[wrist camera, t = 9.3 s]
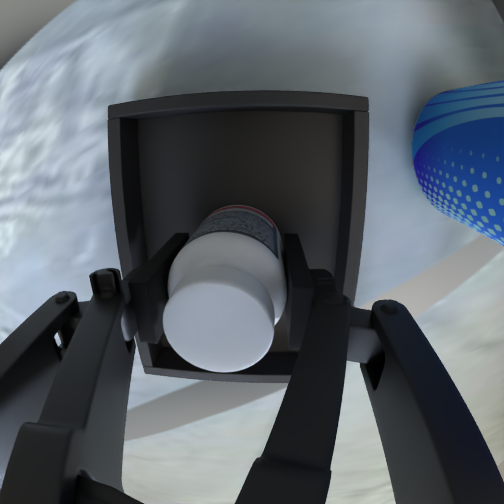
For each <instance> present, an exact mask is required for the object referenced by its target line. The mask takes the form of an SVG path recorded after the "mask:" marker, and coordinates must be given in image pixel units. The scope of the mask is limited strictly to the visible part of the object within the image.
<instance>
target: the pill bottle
mask: <svg viewBox="0 0 504 504" xmlns="http://www.w3.org/2000/svg"><path fill="white" fill-rule="evenodd" d="M167 290H168V296H169V300H168V302H167V304H166V306H165V309H164V313H163V328H164V332H165V335H166V337H167V340H168V342H169V343H170V344H171V346H172V347H173V349H174V350H175V351H176V352H177V353H178V354H179V355H180V356H181V357H182V358H183V359H185V360H186V361H188V362H190V363H191V364H193V365H195V366H197V367H200V368H202V369H206V370H209V371H214V372H233V371H239V370H242V369H245V368H248V367H250V366H252V365H254V364H255V363H257V362H258V361H259V360H260V359H262V358H263V357H264V355H265V354H266V353H267V351H268V350H269V348H270V346H271V344H272V341H273V337H274V325H275V324H276V323H277V322H278V320H279V319H280V317H281V315H282V314H283V311H284V309H285V306H286V302H287V280H286V275H285V268H284V257H283V247H282V240H281V236H280V233H279V231H278V229H277V227H276V225H275V224H274V222H273V221H272V220H271V219H270V218H269V217H268V216H267V215H266V214H264V213H263V212H261V211H260V210H258V209H256V208H253V207H250V206H245V205H230V206H225V207H222V208H220V209H218V210H216V211H214V212H213V213H211V214H210V215H209V216H208V217H207V218H206V219H205V220H204V221H203V222H202V223H201V225H200V226H199V227H198V228H197V230H196V231H195V232H194V233H193V235H192V236H191V237H190V239H189V240H188V241H187V243H186V244H185V245H184V246H183V248H182V249H181V250H180V252H179V253H178V255H177V256H176V258H175V259H174V261H173V263H172V265H171V268H170V271H169V275H168V282H167Z"/></svg>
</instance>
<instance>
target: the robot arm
mask: <svg viewBox="0 0 504 504" xmlns="http://www.w3.org/2000/svg"><path fill="white" fill-rule="evenodd" d="M188 240H189V233H175V234H174V235H173V236H172V237H171V238H170V239H169V240H168V241H167V242H166V243H165V244H164V245H163V246H162V247H161V248H160V249H159V250H158V251H157V252H156V254H155V255H154V256H153V257H152V258H151V259H150V260H149V261H148V262H147V263H146V264H145V265H144V266H143V267H137V268H135V269H133V270H131V271H130V272H129V273H128V274H127V275H126V276H125V277H124V278H123V280H121V274H120V271H119V270H118V269H115V268H105V269H100V270H97V271H95V272H93V273H91V274H90V275H89V277H90V282H91V287H92V291H93V296H92V298H91V300H90V301H84V302H78V300H77V296H76V294H75V293H74V292H70V291H67V292H66V291H62V292H59V293H58V294H55V295H54V296H52V297H51V298H49V299H48V300H47V301H46V302H45V303H44V304H43V305H42V306H40V307H39V308H38V309H37V310H36V311H35V312H34V313H33V314H32V315H31V316H29V317H28V318H27V319H26V320H25V321H24V322H23V323H22V324H21V325H20V326H19V327H18V328H17V329H16V330H15V331H14V332H12V333H11V334H10V335H9V336H8V337H7V338H6V339H5V340H4V341H3V342H2V343H1V344H0V504H144V503H142V502H140V501H138V500H136V499H134V498H132V497H130V496H128V495H126V494H125V493H124V490H123V487H122V479H121V477H122V459H123V445H124V433H125V422H126V413H127V404H128V396H129V388H130V381H131V374H132V367H133V361H134V354H135V348H136V345H135V340H134V336H135V334H136V332H137V331H138V334H139V338H140V342H145V343H154V344H157V343H158V341H159V339H160V337H161V335H162V333H163V331H164V328H163V313H164V309H165V306H166V304H167V302H168V300H169V296H168V290H167V282H168V275H169V271H170V268H171V265H172V263H173V261H174V259H175V258H176V256H177V255H178V253H179V252H180V250H181V249H182V248H183V246H184V245H185V244H186V243H187V241H188ZM283 257H284V268H285V275H286V280H287V302H286V306H285V312H286V323H287V336H288V348H289V350H300V351H299V354H298V357H297V360H296V363H295V366H294V369H293V372H292V375H291V378H290V381H289V384H288V387H287V389H286V392H285V395H284V398H283V401H282V404H281V406H280V409H279V412H278V415H277V417H276V420H275V423H274V425H273V428H272V431H271V433H270V436H269V438H268V441H267V443H266V446H265V449H264V451H263V453H262V455H261V457H259V458H256V460H255V461H254V463H253V465H252V467H251V469H250V471H249V473H248V476H247V478H246V480H245V482H244V485H243V487H242V489H241V491H240V493H239V496H238V498H237V500H236V502H235V504H325V502H326V498H327V494H328V489H329V485H330V479H331V470H330V467H331V461H332V456H333V451H334V446H335V440H336V434H337V428H338V422H339V416H340V409H341V402H342V395H343V387H344V379H345V371H346V362H347V361H353V362H359V363H360V368H361V371H362V374H363V378H364V381H365V384H366V388H367V391H368V394H369V398H370V401H371V405H372V408H373V412H374V416H375V419H376V423H377V426H378V430H379V434H380V438H381V442H382V446H383V449H384V453H385V457H386V462H387V466H388V470H389V474H390V479H391V483H392V488H393V492H394V497H395V502H396V504H504V482H503V479H502V477H501V475H500V472H499V470H498V468H497V465H496V463H495V461H494V459H493V457H492V454H491V452H490V450H489V448H488V446H487V444H486V442H485V440H484V438H483V436H482V434H481V432H480V430H479V428H478V426H477V424H476V422H475V420H474V418H473V416H472V414H471V413H470V411H469V409H468V407H467V405H466V403H465V402H464V400H463V398H462V396H461V394H460V393H459V391H458V389H457V387H456V386H455V384H454V382H453V380H452V379H451V377H450V375H449V374H448V372H447V370H446V369H445V367H444V365H443V364H442V362H441V360H440V359H439V357H438V356H437V354H436V352H435V351H434V349H433V348H432V346H431V344H430V343H429V341H428V340H427V338H426V337H425V335H424V334H423V332H422V331H421V329H420V328H419V326H418V325H417V323H416V322H415V320H414V319H413V317H412V316H411V314H410V313H409V311H408V310H407V308H406V307H405V306H404V305H403V304H401V303H398V302H397V301H393V300H379V301H376V302H375V303H374V304H373V306H372V310H365V309H360V308H356V307H353V306H351V300H350V299H349V298H348V297H347V296H345V295H343V294H341V293H340V291H339V289H338V287H337V284H336V282H335V280H334V278H333V275H332V273H330V272H329V271H327V270H326V269H309V267H308V264H307V261H306V258H305V254H304V251H303V248H302V245H301V242H300V239H299V235H298V234H295V233H284V252H283ZM57 332H58V335H59V337H60V340H61V344H60V346H58V345H57V344H56V341H55V338H54V336H55V334H56V333H57Z"/></svg>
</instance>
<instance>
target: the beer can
mask: <svg viewBox="0 0 504 504" xmlns="http://www.w3.org/2000/svg"><path fill="white" fill-rule="evenodd" d="M412 160H413V166H414V171H415V174H416V178H417V180H418V183H419V185H420V187H421V189H422V191H423V193H424V195H425V196H426V198H427V199H428V200H429V202H430V203H431V204H432V205H433V206H434V207H435V208H436V209H437V210H439V211H440V212H441V213H443V214H445V215H447V216H449V217H451V218H453V219H455V220H457V221H459V222H461V223H463V224H465V225H467V226H468V227H470V228H472V229H474V230H476V231H478V232H480V233H482V234H484V235H485V236H487V237H489V238H491V239H493V240H494V241H496V242H498V243H500V244H502V245H503V246H504V80H503V81H497V82H491V83H485V84H479V85H474V86H469V87H464V88H459V89H454V90H450V91H445V92H442V93H439V94H438V95H436V96H434V97H433V98H432V99H430V100H429V101H428V102H427V103H426V104H425V106H424V107H423V108H422V110H421V112H420V114H419V116H418V118H417V120H416V123H415V126H414V130H413V136H412Z"/></svg>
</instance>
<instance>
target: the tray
mask: <svg viewBox="0 0 504 504" xmlns="http://www.w3.org/2000/svg"><path fill="white" fill-rule="evenodd" d="M368 111H369V104H368V98H367V97H362V96H354V95H345V94H334V93H321V92H305V91H271V90H256V91H223V92H206V93H194V94H183V95H173V96H165V97H157V98H150V99H143V100H137V101H131V102H125V103H119V104H114V105H109V106H108V151H109V170H110V184H111V195H112V206H113V215H114V223H115V231H116V239H117V246H118V253H119V259H120V265H121V271H122V277H123V278H124V277H125V276H126V275H127V274H128V273H129V272H130V271H131V270H133V269H135V268H137V267H143V266H144V265H145V264H146V263H147V262H148V261H149V260H150V259H151V258H152V257H153V256H154V255H155V254H156V252H157V251H158V250H159V249H160V248H161V247H162V246H163V245H164V244H165V243H166V242H167V241H168V240H169V239H170V238H171V237H172V236H173V235H174V234H175V233H189V239H190V237H191V236H192V235H193V233H194V232H195V231H196V230H197V228H198V227H199V226H200V225H201V223H202V222H203V221H204V220H205V219H206V218H207V217H208V216H209V215H210V214H211V213H213V212H214V211H216V210H218V209H220V208H222V207H225V206H230V205H245V206H250V207H253V208H256V209H258V210H260V211H261V212H263V213H264V214H266V215H267V216H268V217H269V218H270V219H271V220H272V221H273V222H274V224H275V225H276V227H277V229H278V231H279V233H280V236H281V240H282V247H283V252H284V233H295V234H298V235H299V239H300V242H301V245H302V248H303V251H304V254H305V258H306V261H307V264H308V267H309V269H326V270H327V271H329V272H330V273H332V275H333V278H334V280H335V282H336V284H337V287H338V289H339V291H340V293H341V294H343V295H345V296H347V297H348V298H349V299H350V300H351V306H353V307H354V301H355V294H356V287H357V280H358V273H359V266H360V258H361V249H362V240H363V230H364V219H365V207H366V193H367V176H368V149H369V112H368ZM135 339H136V343H137V347H138V350H139V354H140V358H141V362H142V365H143V368H144V372H145V373H146V374H152V375H160V376H169V377H178V378H187V379H198V380H212V381H227V382H250V383H289V381H290V378H291V375H292V372H293V369H294V366H295V363H296V360H297V357H298V354H299V351H300V350H289V348H288V336H287V323H286V312H285V309H284V311H283V314H282V315H281V317H280V319H279V320H278V322H277V323H276V324H275V325H274V337H273V341H272V344H271V346H270V348H269V350H268V351H267V353H266V354H265V355H264V357H263V358H262V359H260V360H259V361H258V362H257V363H255V364H254V365H252V366H250V367H248V368H245V369H242V370H239V371H233V372H214V371H209V370H206V369H202V368H200V367H197V366H195V365H193V364H191V363H190V362H188V361H186V360H185V359H183V358H182V357H181V356H180V355H179V354H178V353H177V352H176V351H175V350H174V349H173V347H172V346H171V344H170V343H169V342H168V340H167V337H166V335H165V332H164V331H163V333H162V335H161V337H160V339H159V341H158V343H157V344H154V343H145V342H140V338H139V334H138V331H137V332H136V334H135Z"/></svg>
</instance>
